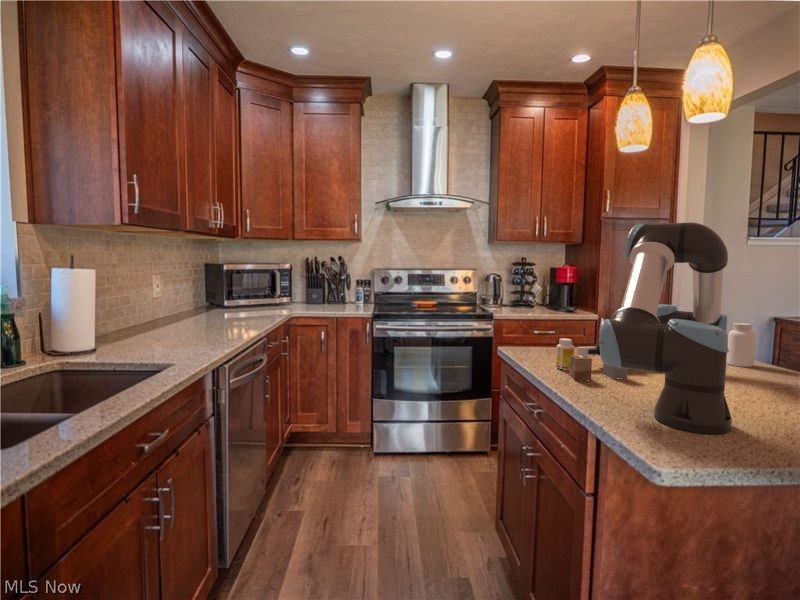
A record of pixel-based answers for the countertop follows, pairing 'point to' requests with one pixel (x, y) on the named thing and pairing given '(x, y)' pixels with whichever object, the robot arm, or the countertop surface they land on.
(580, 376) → the walnut block
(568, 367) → the supplement bottle
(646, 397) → the countertop surface
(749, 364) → the pill bottle
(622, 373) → the slate block
